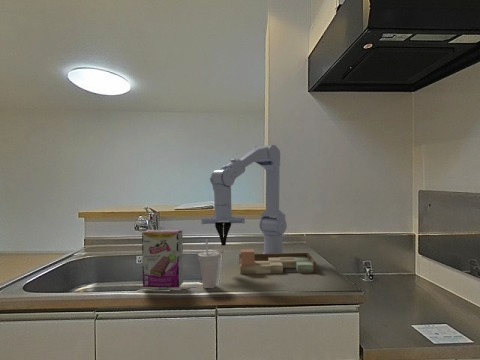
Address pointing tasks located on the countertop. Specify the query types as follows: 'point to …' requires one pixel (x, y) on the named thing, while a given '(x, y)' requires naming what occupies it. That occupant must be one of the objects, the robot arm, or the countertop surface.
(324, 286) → the countertop surface
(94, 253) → the countertop surface
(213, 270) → the smoothie
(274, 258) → the cubby shelf
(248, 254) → the block
